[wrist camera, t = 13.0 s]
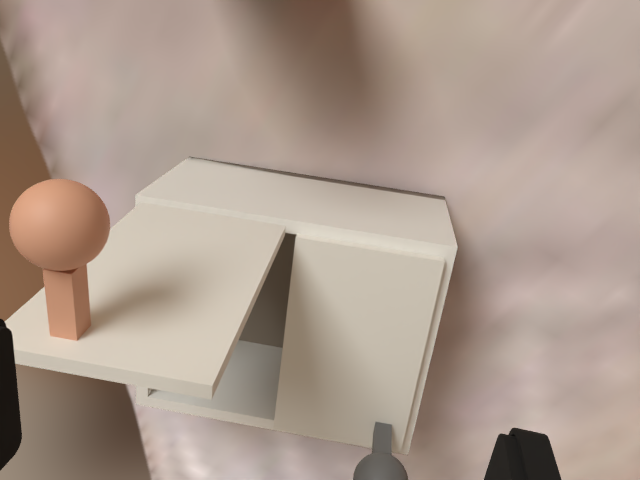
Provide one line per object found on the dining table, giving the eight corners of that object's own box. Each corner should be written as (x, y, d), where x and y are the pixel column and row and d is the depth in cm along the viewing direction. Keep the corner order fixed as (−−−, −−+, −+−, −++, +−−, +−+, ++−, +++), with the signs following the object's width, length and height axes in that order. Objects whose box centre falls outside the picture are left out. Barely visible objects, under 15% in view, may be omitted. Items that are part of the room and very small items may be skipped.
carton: (444, 196, 39) (457, 247, 30) (405, 372, 44) (408, 455, 36) (189, 156, 40) (135, 194, 32) (183, 333, 46) (135, 404, 37)
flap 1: (284, 235, 31) (296, 121, 28) (211, 399, 19) (218, 230, 16) (141, 212, 31) (138, 98, 29) (-18, 357, 19) (-48, 186, 17)
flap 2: (445, 257, 31) (457, 314, 25) (402, 445, 36) (403, 529, 30) (297, 233, 31) (275, 284, 25) (275, 422, 36) (252, 500, 31)
